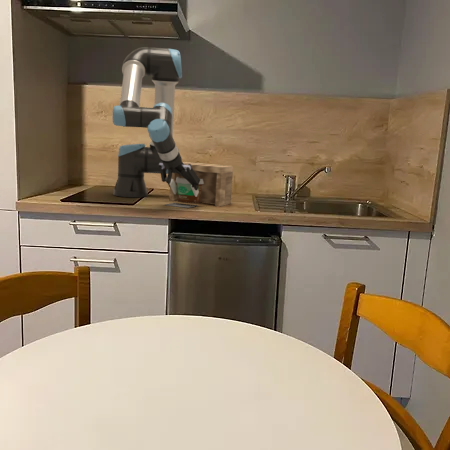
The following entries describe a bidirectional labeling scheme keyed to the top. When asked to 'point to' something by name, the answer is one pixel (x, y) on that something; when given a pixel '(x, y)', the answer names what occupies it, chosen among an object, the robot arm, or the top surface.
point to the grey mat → (181, 205)
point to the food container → (187, 191)
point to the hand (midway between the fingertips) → (186, 192)
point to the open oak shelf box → (211, 183)
